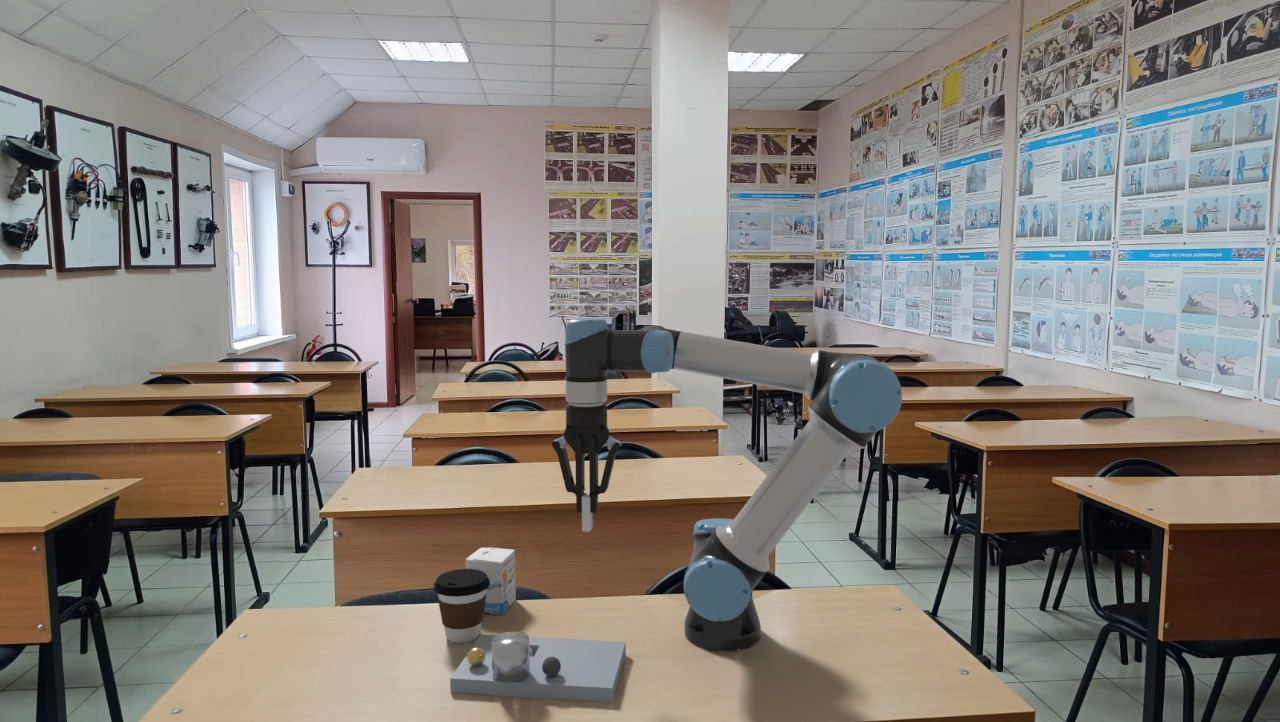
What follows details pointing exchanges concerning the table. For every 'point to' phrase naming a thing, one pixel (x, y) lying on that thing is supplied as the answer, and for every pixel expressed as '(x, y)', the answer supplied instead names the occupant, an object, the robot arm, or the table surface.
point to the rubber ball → (551, 666)
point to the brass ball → (476, 656)
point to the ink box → (496, 576)
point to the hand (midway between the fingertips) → (587, 529)
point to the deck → (581, 676)
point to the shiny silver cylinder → (510, 656)
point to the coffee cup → (462, 603)
